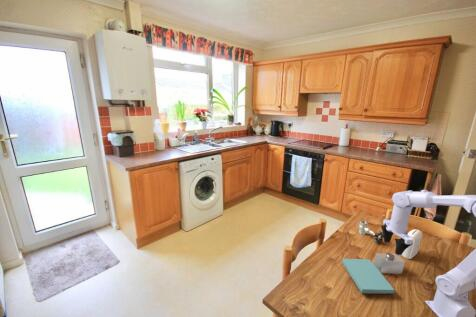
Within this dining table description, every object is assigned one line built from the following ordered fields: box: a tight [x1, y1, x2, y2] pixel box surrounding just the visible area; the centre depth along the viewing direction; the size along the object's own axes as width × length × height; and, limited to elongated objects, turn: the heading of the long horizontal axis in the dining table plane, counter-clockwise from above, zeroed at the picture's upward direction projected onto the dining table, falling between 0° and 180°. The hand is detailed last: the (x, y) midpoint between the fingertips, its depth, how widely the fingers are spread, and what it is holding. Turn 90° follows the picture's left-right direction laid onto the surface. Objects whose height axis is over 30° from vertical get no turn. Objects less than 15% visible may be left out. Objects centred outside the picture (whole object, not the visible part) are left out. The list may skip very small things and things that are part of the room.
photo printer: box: [401, 229, 423, 260], centre depth 103 cm, size 10×4×12 cm, turn 123°
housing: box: [373, 252, 406, 274], centre depth 94 cm, size 5×9×7 cm, turn 90°
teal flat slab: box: [341, 258, 395, 295], centre depth 88 cm, size 16×12×3 cm
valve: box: [357, 220, 384, 244], centre depth 116 cm, size 7×7×12 cm
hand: (392, 247), depth 92 cm, fingers open, 7 cm apart
